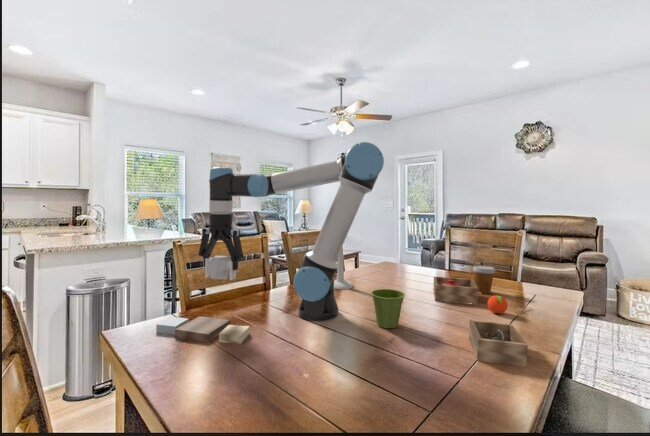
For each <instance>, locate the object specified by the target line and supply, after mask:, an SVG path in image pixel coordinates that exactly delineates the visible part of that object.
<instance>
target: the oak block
mask: <svg viewBox="0 0 650 436" xmlns="http://www.w3.org/2000/svg"><path fill="white" fill-rule="evenodd" d="M250 328H251V327H250V325H238V324H230V325H228V326H227V327H226V328H225V329H224V330H222V331H221V332H220V333H219V335H218V342H219V343H224V344H225V343H226V344H227V343H228V344H243V342H245V340H246V339H247V338H248V337H249V335H250Z"/></svg>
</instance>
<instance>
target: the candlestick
mask: <svg viewBox="0 0 650 436" xmlns="http://www.w3.org/2000/svg"><path fill="white" fill-rule="evenodd" d="M344 243H345V242H344ZM344 243H343V245H344ZM337 265H338V268H337V271H336V272H337V273H336V279H334V290H340V291H341V290H343V291H344V290H350V289H352V288H353V287H354V284H353V283H352V282H351V281H348V280H345V275H344V271H345V270H344V248H343V246H342V248H341V250H340V253H339V255H338V257H337Z"/></svg>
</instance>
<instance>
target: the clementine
mask: <svg viewBox="0 0 650 436" xmlns="http://www.w3.org/2000/svg"><path fill="white" fill-rule="evenodd" d="M487 307H488V309H489V310H490V311H491V312H492V313H493V312H494V314H496V313H501V314H503V313H505V312H506V311H507V310H508V307H509V306H508V301H507V300H506V299H505V298H504V297H503V296H501V295H497V294H496V295H492V296H490V297H489V298H488V300H487Z"/></svg>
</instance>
